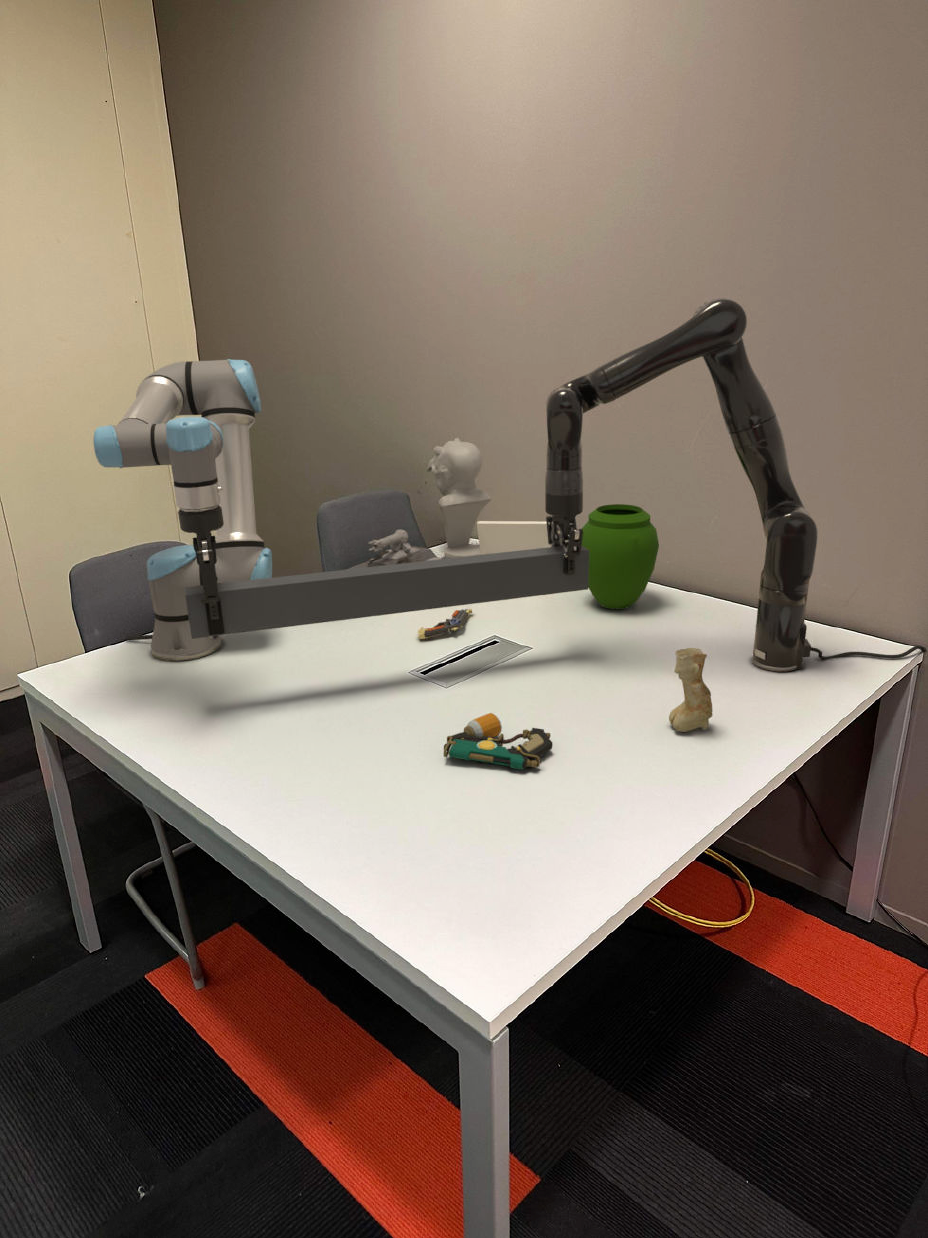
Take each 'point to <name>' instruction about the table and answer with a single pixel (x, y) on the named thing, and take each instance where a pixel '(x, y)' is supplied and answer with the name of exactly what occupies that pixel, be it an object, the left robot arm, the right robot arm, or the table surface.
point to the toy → (397, 551)
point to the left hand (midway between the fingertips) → (216, 627)
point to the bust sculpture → (459, 494)
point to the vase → (619, 553)
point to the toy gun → (446, 624)
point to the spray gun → (497, 744)
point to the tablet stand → (511, 536)
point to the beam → (387, 590)
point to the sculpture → (691, 692)
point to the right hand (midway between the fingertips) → (563, 570)
